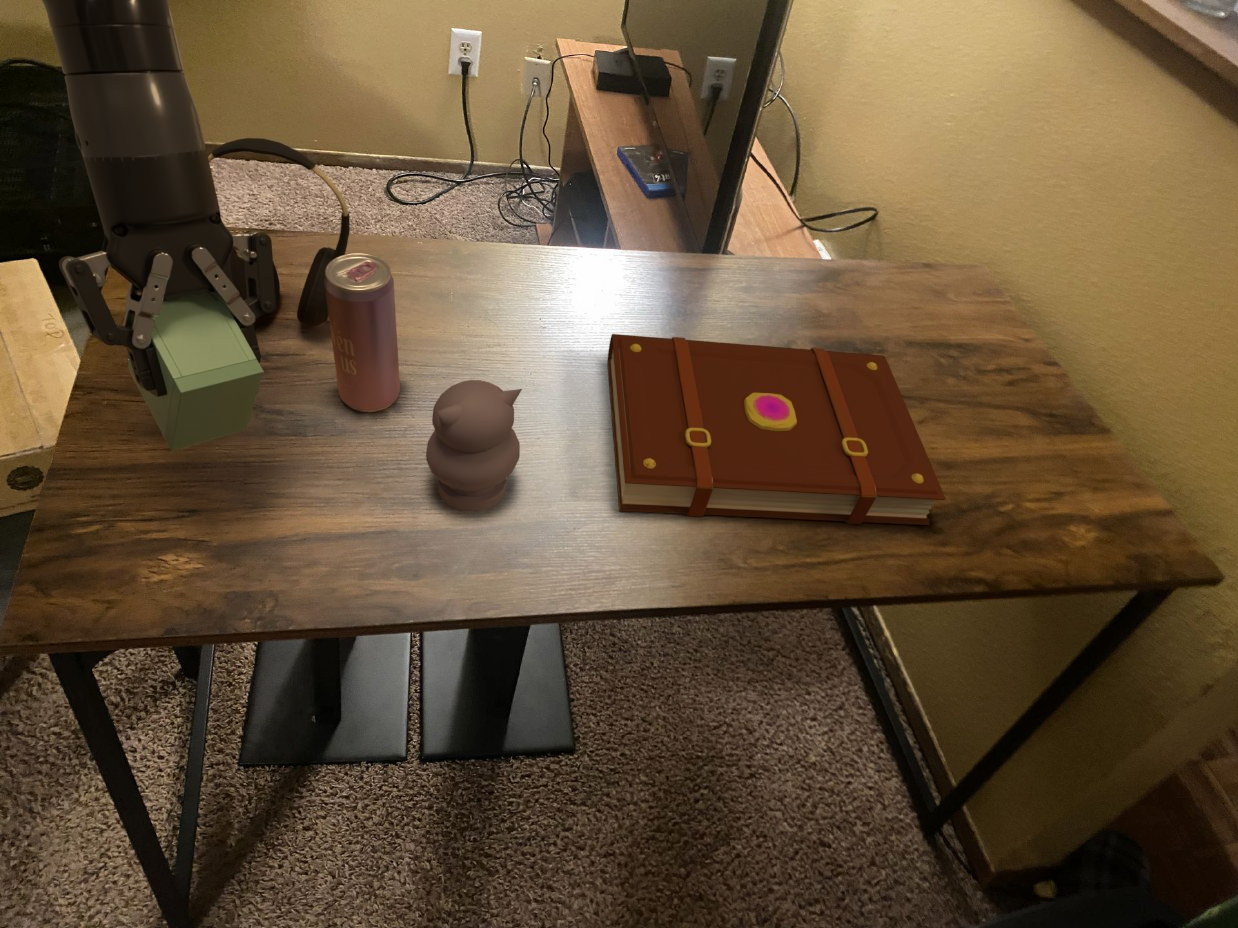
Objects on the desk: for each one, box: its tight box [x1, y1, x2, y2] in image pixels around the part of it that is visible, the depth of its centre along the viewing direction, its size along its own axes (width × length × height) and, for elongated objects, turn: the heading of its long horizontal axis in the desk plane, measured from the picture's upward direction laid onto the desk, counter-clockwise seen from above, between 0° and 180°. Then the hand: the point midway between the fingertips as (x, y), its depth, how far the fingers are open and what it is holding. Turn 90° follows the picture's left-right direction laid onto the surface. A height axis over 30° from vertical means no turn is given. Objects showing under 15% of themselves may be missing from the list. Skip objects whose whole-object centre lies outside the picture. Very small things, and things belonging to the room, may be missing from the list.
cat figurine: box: [425, 379, 523, 513], centre depth 74 cm, size 8×8×12 cm
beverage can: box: [324, 252, 401, 413], centre depth 79 cm, size 6×6×15 cm
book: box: [607, 333, 947, 526], centre depth 87 cm, size 23×32×5 cm
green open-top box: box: [127, 293, 265, 452], centre depth 64 cm, size 8×6×9 cm
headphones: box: [208, 137, 351, 328], centre depth 84 cm, size 9×15×20 cm, turn 90°
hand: (204, 381), depth 64 cm, fingers closed on green open-top box, 6 cm apart
